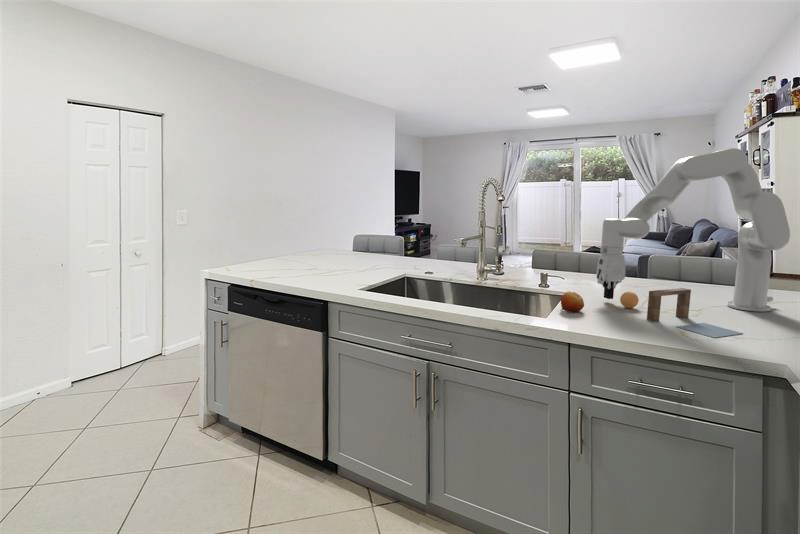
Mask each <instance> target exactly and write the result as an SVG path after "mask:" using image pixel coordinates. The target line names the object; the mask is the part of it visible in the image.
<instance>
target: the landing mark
mask: <svg viewBox="0 0 800 534" xmlns="http://www.w3.org/2000/svg"><path fill="white" fill-rule="evenodd" d="M675 327H676V328H678V327H679V328H678V329H681V328H683V329H682V330H685V329H686V330H685V331H688V330H690V331H689V332H691V331H693V332H692V333H695V332H696V334H698V333H700V334H699V335H702V334H703V336H705V335H706V337H709V336H710V337H709V338H712V337H713V339H717V337H719V338H725V336H726V337H731V336H738V335H743V334H744V332H739V331H737V330H732V329H729V328H725V327H721V326H717V325H713V324H710V323H706V322H700V323H692V324H684V325H677V326H675Z"/></svg>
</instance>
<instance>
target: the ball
mask: <svg viewBox="0 0 800 534" xmlns="http://www.w3.org/2000/svg"><path fill="white" fill-rule="evenodd" d="M639 300H640V299H639V296H638V295H637V294H636V293H635V292H632V291H626V292H623V293H622V294H621V296H620V298H619V301H620V304H621V305H622V306H623V307H624V308H627V309H634V308H635V307H637V306H638V304H639Z"/></svg>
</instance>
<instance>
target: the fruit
mask: <svg viewBox="0 0 800 534" xmlns="http://www.w3.org/2000/svg"><path fill="white" fill-rule="evenodd" d="M560 305H561V310H559V311H561V312H562V311H566V312H569V313H572V314H576V313H579V312H580V311H582V310H583V308H584V307H585V301H584V298H583V297H582V295H580V294H578V293H577V292H575V291H566V292H564V294H563V295H562V296H561V297H560Z"/></svg>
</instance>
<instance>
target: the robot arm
mask: <svg viewBox="0 0 800 534" xmlns="http://www.w3.org/2000/svg"><path fill="white" fill-rule="evenodd" d="M716 177H717V178H719V177H721V178H722V179H723V180H725V182H726V184H727V186H728V188H729V190H730V195H731V199H732V202H733V207H734V209H735V213H736V214H737V215H738V217H740V218H743V219H747V220H748V219H749V220H751V221H750V222H746V223H745V224H743V225H742V226H741V227H740V229H739V230H738V233H737V245H738V248H737V250H738V255H737V256H738V257H737V265H736V272H735V281H734V282H735V283H734V290H733V291H734V292H733V299H732V301H728V302H727V306H728V307H729V308H731V309H737V310H742V311H747V312H748V311H749V312H759V313H765V312H770V311H771V310H772V307H771V306H770V305H768V304H767V303H771V302H773V301H774V298H773V297H772V296H768V292H769V291H768V290H769V284H770V283H769V282H770V276H771V267H772V259H773V258H772V251H778V250H781V249H783V248H784V247H786V245H788V243H789V241H790V238H791V230H790V226H789V221H788V217H787V213H786V209H785V206H784V203H783V201H782V200H781V198H780V197H779V196H778V195H777V194H776V193H774V192H772V191H763V189H762V185H761V183H760V179H759V177H758V175H757V172H756V170H755V168H754V167H753V166H752V165H751V164H750V163H749V162H748V157H747V155H746V153H745V151H743V150H742V149H740V148H736V147H735V148H734V147H732V148H731V147H730V148H726V149H721V150H717V151H713V152H708V153H704V154H699V155H698V154H697V155H692V156H687V157H683V158H680V159H678V160H677V161H676V162H674V163H673V165H672V166H671V167H670V168H669V169H668V170H667V172H666V173H664V175H663V176H662V177H661V179H660V180H659V181H658V182H657V184H656V185H655V186H654V187H653V188H652V189H651V190H650V191H649V192H648V193H647V194H646V195H645V196H644V197H643V198H642V199H640V201H639V202H637V203H636V205H635V206H633V208H632V209H631V210H630V211H629V212H628V213H627V215H626V216H625V217H624V218H623V219H622V218H605V219H604V220H603V222H602V233H601V246H600V249H599V252H600V254H599V258H598V260H597V265H596V279H597V282H596V283H597V284H599V285H601V286H602V288H603V289H604V290H603V298H604V299H608V300H613V299H614V296H615V295H614V292H615V289H616V288H617V285H618V284H621V283H622V281H624V280H625V278H626V258H625V255H624V254H623V253H624V242H625V241H624V240H625V238H627V239H628V238H629V239H633V240H639V239H643V238H645V237H646V236H648V234H649V233H650V230H651V227H650V224H649V223H648V221H649V220H650V219H652V217H653V216H654V215H655V214H657V213H658V212H660V211H662V210H664V209H666V208H668V207H669V206H671V205H673V203H675V201H676V200H677V199H678V198H679V196H680V195H682V193H683V192H684V191H685V190H686V189H687V187H688V186H690V184H691V183H692V182H695V181H703V180H706V179H707V180H708V179H713V178H716Z"/></svg>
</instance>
